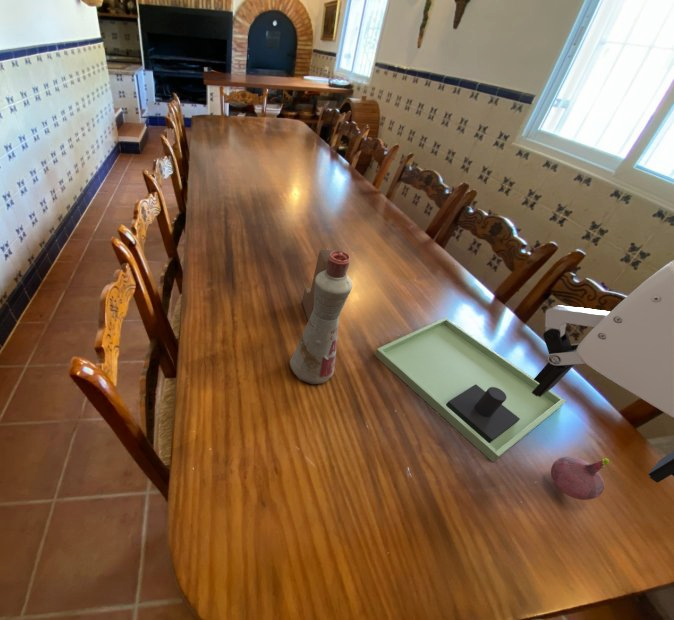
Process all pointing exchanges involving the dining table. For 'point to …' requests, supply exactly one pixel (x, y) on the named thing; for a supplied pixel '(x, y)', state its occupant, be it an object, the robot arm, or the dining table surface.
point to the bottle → (323, 322)
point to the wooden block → (309, 292)
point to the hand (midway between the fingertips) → (594, 427)
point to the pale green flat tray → (466, 379)
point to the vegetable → (578, 477)
